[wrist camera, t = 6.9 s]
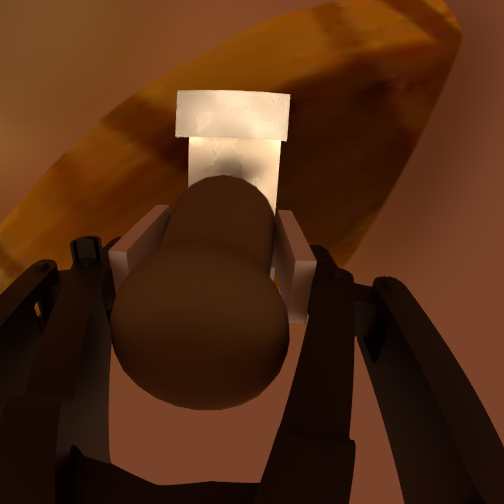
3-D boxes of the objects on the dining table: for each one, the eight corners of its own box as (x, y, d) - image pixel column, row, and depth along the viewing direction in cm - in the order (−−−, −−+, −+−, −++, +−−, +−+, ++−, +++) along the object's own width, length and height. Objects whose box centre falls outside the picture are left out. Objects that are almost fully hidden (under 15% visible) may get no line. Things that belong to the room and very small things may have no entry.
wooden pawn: (237, 153, 15) (214, 202, 5) (295, 241, 17) (350, 391, 7) (150, 214, 16) (42, 333, 6) (211, 291, 18) (183, 449, 8)
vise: (190, 255, 33) (173, 298, 25) (193, 102, 27) (170, 91, 18) (269, 259, 34) (277, 304, 25) (282, 105, 27) (296, 95, 19)
